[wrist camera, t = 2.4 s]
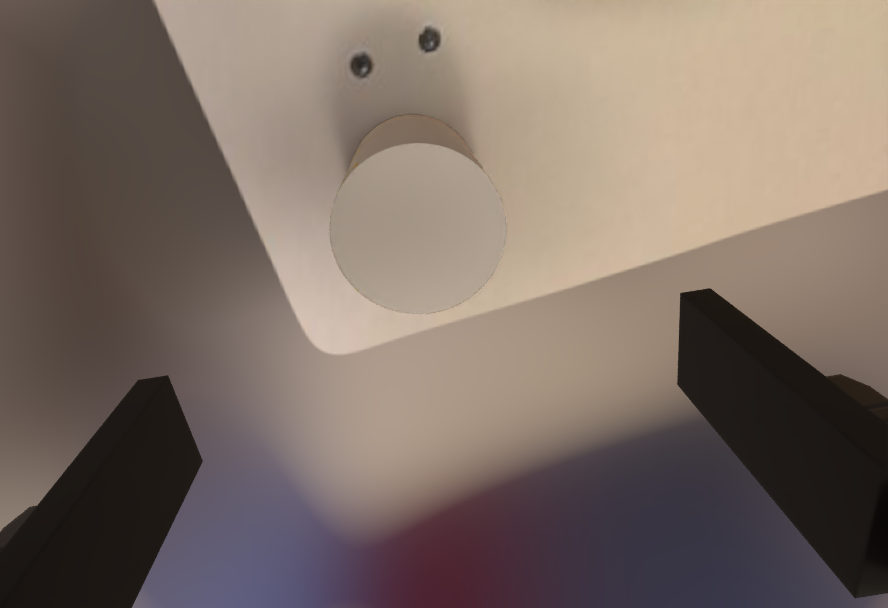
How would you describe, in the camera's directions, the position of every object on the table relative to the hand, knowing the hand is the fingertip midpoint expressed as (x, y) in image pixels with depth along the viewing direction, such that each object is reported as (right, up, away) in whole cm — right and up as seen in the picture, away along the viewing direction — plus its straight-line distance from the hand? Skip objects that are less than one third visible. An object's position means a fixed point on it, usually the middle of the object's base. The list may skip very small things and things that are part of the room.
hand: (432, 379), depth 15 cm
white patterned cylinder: (-2, +10, +22) cm, 25 cm away
